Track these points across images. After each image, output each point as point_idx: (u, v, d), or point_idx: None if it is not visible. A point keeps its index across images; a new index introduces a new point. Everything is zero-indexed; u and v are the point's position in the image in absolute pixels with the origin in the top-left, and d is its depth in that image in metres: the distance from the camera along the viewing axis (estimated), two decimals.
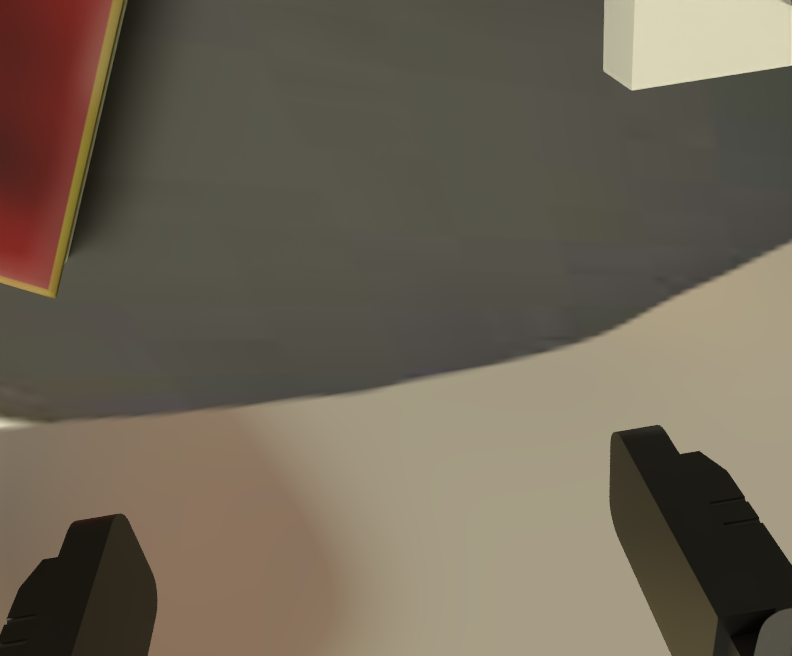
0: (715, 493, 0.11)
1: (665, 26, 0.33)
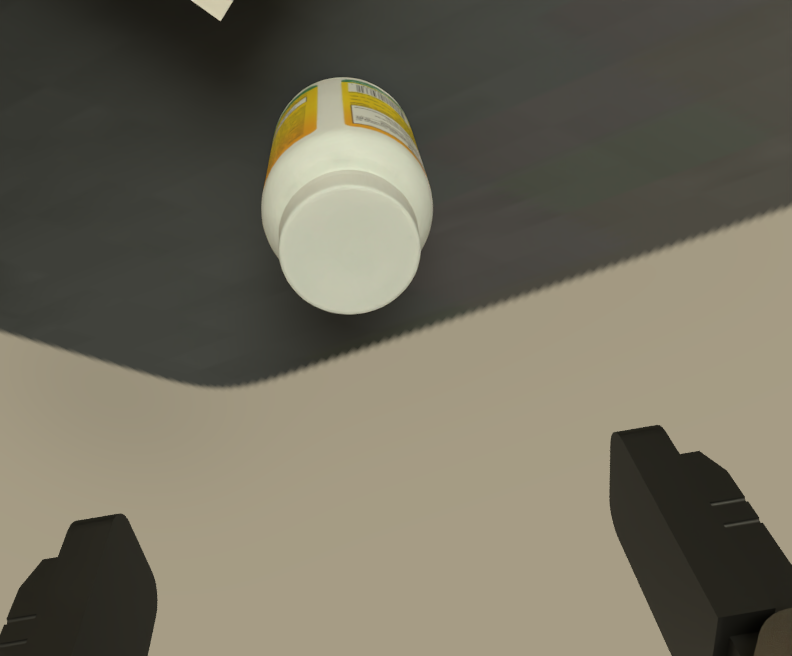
0: (715, 493, 0.11)
1: None
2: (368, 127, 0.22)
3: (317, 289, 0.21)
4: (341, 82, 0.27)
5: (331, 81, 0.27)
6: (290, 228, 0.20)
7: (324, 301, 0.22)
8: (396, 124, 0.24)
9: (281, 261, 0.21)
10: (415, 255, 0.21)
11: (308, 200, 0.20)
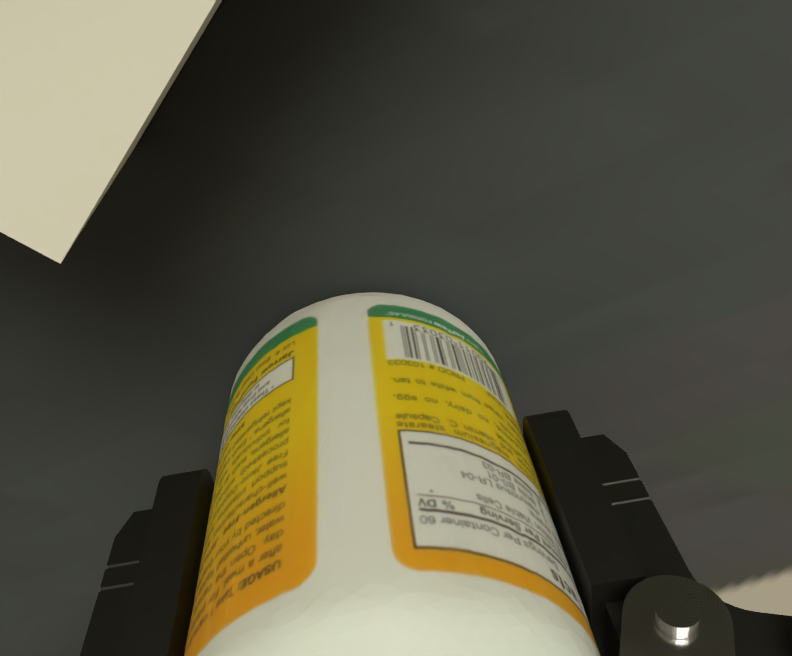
0: (612, 473, 0.11)
1: None
2: (457, 563, 0.08)
3: None
4: (369, 320, 0.12)
5: (346, 310, 0.13)
6: None
7: None
8: (507, 473, 0.10)
9: None
10: None
11: None
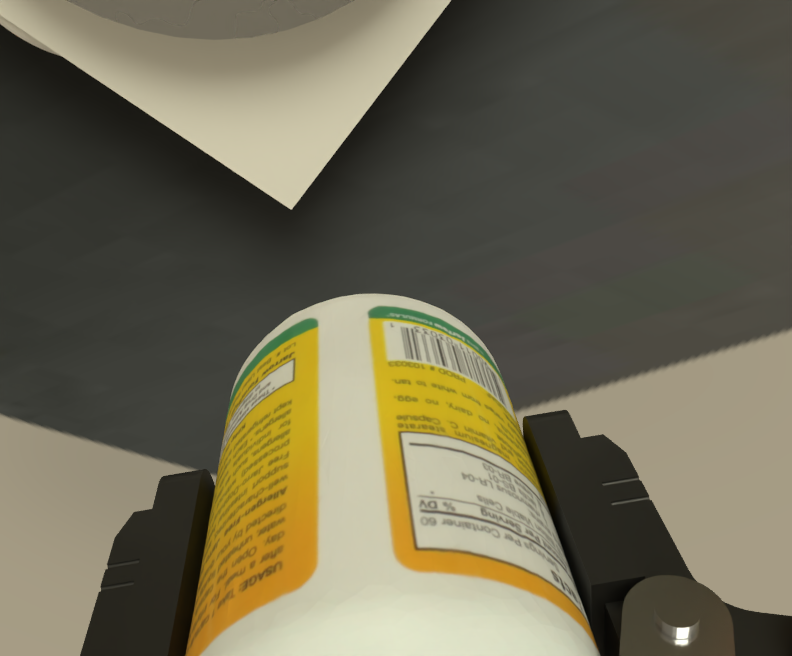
0: (611, 473, 0.11)
1: None
2: (459, 564, 0.08)
3: None
4: (369, 321, 0.12)
5: (346, 312, 0.13)
6: None
7: None
8: (507, 474, 0.10)
9: None
10: None
11: None
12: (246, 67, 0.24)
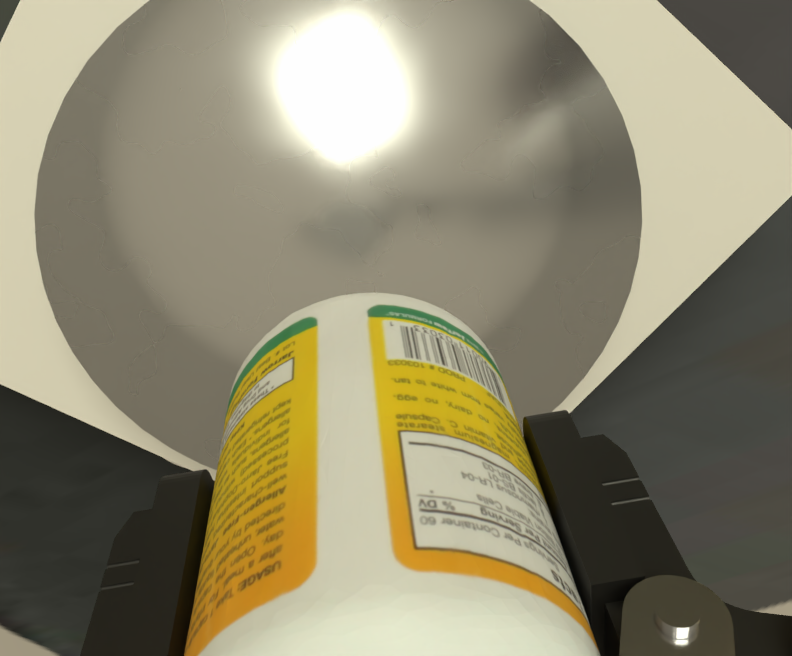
0: (612, 473, 0.11)
1: None
2: (457, 564, 0.08)
3: None
4: (369, 320, 0.12)
5: (346, 311, 0.13)
6: None
7: None
8: (507, 473, 0.10)
9: None
10: None
11: None
12: None
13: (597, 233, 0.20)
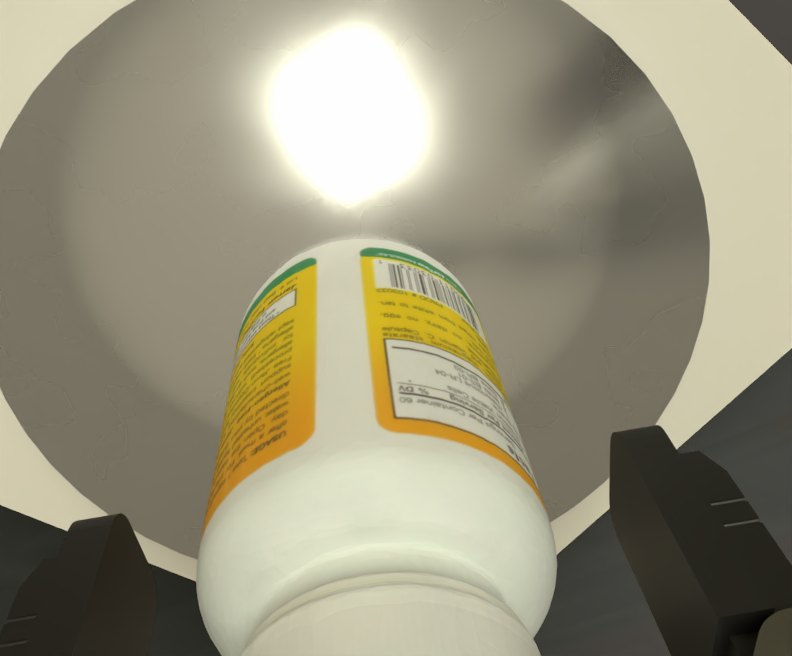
0: (714, 493, 0.11)
1: None
2: (429, 430, 0.10)
3: None
4: (361, 259, 0.14)
5: (341, 252, 0.15)
6: None
7: None
8: (475, 375, 0.12)
9: None
10: None
11: None
12: None
13: (655, 294, 0.17)
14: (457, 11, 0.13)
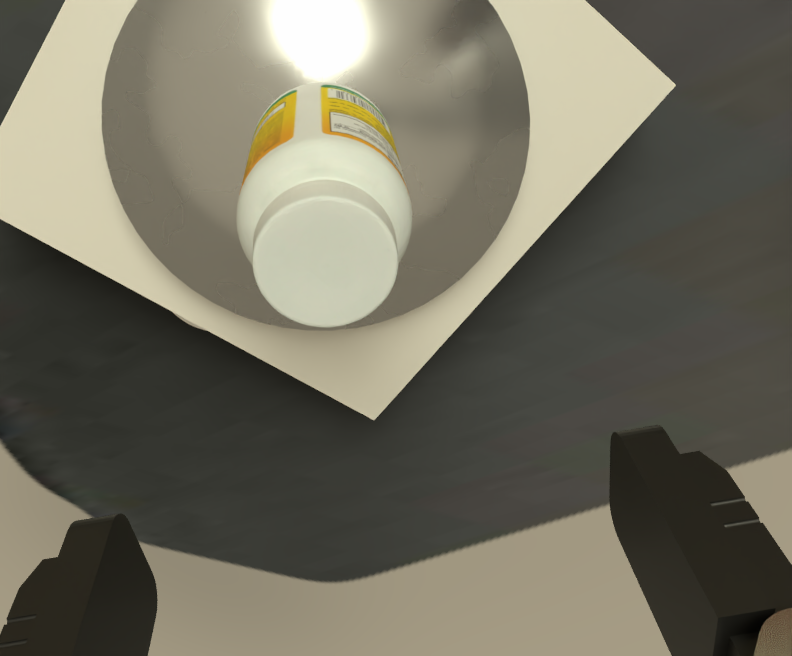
0: (715, 493, 0.11)
1: None
2: (346, 135, 0.22)
3: (292, 302, 0.21)
4: (321, 88, 0.26)
5: (311, 86, 0.26)
6: (264, 239, 0.20)
7: (299, 314, 0.21)
8: (376, 132, 0.24)
9: (255, 273, 0.20)
10: (393, 268, 0.21)
11: (283, 211, 0.20)
12: (346, 338, 0.34)
13: (498, 125, 0.29)
14: None
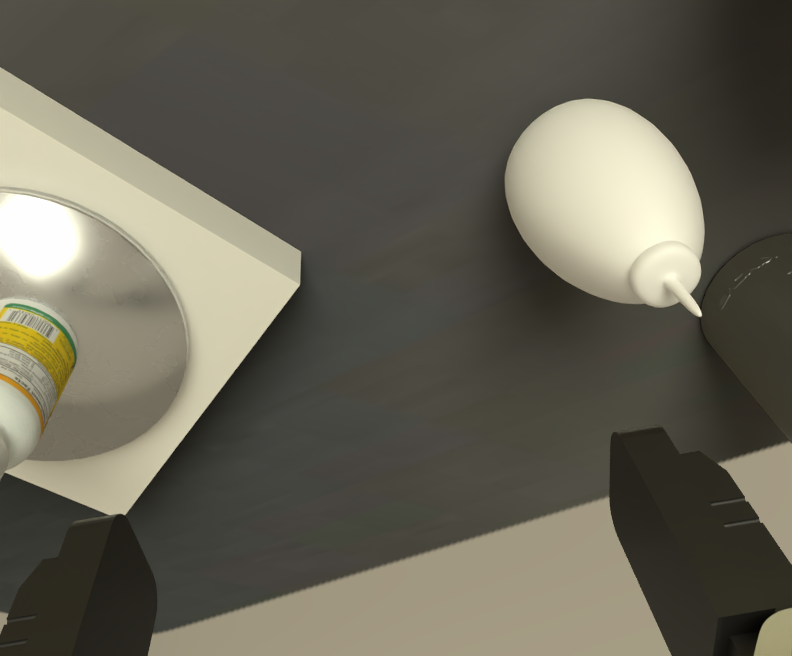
0: (715, 493, 0.11)
1: None
2: None
3: None
4: (3, 308, 0.36)
5: None
6: None
7: None
8: (20, 354, 0.34)
9: None
10: None
11: None
12: (84, 461, 0.44)
13: (157, 320, 0.38)
14: (31, 214, 0.35)
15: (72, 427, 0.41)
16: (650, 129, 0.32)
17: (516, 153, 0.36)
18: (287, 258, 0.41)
